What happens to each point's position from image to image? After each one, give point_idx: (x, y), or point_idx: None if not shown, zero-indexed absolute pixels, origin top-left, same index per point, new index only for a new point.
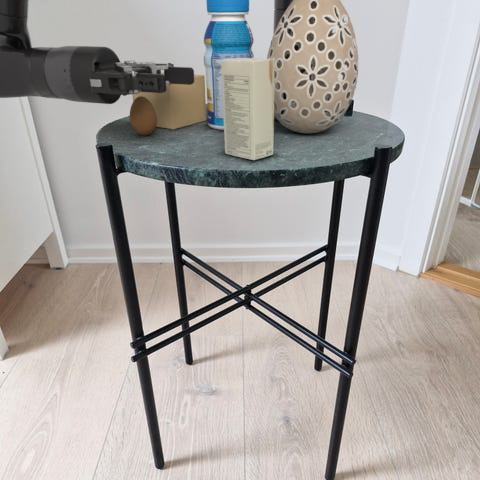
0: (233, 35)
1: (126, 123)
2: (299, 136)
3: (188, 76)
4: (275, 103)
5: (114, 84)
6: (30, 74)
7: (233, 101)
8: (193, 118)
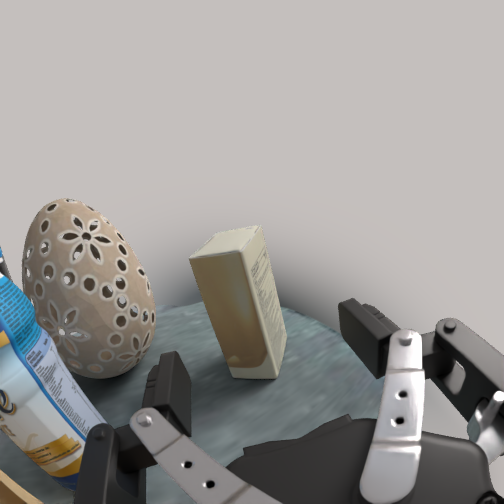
0: (24, 297)
1: None
2: (140, 363)
3: (183, 371)
4: (79, 371)
5: (461, 389)
6: None
7: (265, 296)
8: None
